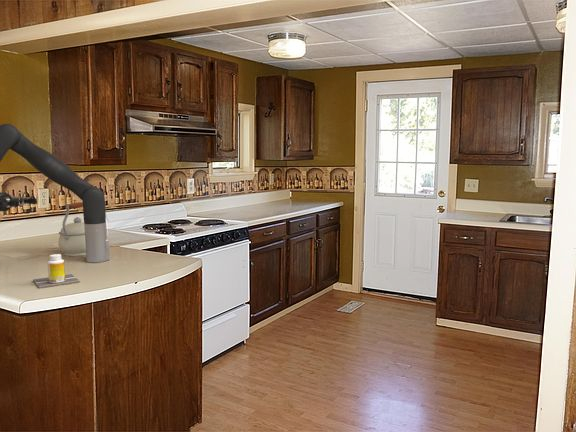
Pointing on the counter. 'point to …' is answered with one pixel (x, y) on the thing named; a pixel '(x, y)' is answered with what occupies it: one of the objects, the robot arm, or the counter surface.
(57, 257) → the supplement bottle
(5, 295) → the counter surface
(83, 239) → the kettle
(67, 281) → the lane mat
